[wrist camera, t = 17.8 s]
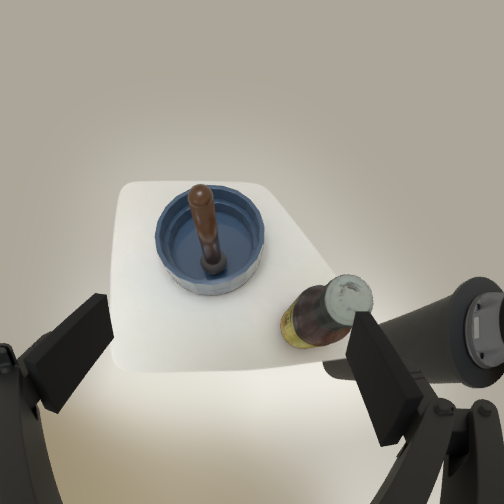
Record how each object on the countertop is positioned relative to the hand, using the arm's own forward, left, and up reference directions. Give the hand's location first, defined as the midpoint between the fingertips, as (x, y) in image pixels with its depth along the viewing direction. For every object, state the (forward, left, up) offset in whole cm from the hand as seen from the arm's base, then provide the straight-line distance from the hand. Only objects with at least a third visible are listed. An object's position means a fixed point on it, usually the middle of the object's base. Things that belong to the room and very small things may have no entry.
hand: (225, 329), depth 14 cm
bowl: (+4, -15, -25) cm, 29 cm away
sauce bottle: (-9, -4, -25) cm, 27 cm away
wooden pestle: (+3, -12, -24) cm, 27 cm away
